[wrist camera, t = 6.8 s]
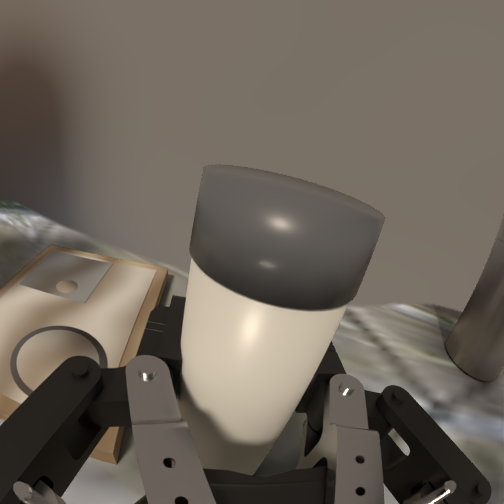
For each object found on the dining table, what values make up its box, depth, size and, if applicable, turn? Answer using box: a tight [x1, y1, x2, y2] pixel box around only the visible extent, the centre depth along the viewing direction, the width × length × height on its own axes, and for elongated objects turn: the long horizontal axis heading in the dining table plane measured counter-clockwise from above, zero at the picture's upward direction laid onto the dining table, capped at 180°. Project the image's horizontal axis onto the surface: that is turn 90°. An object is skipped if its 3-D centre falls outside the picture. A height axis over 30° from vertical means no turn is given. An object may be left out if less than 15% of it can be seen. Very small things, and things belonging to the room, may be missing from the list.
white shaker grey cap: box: [177, 165, 385, 476], centre depth 10 cm, size 5×5×14 cm
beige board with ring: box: [0, 245, 168, 464], centre depth 18 cm, size 14×20×2 cm
